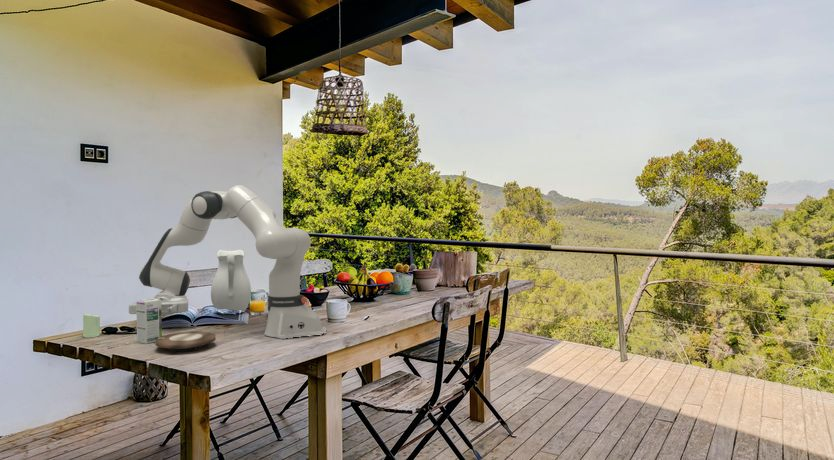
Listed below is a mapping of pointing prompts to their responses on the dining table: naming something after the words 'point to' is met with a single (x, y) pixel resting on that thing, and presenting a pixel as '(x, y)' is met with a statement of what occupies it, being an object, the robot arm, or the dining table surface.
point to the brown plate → (185, 339)
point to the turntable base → (185, 348)
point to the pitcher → (230, 282)
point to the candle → (91, 326)
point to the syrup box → (148, 320)
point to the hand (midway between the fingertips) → (155, 310)
